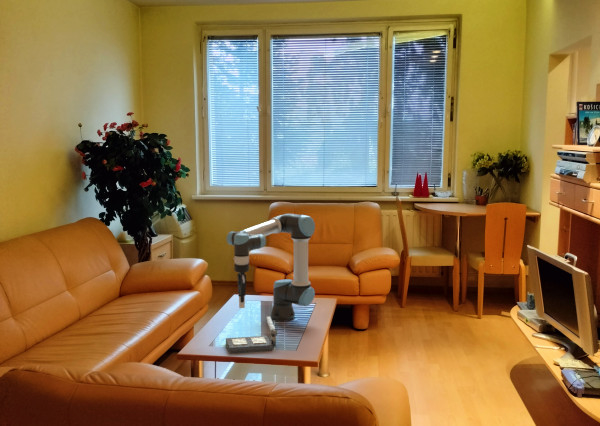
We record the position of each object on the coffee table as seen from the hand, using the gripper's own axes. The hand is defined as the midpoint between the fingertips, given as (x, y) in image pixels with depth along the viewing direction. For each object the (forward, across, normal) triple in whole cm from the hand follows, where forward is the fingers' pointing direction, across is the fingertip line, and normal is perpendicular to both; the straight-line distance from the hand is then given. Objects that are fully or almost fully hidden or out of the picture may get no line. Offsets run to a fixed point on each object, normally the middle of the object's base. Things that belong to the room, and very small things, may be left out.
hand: (241, 307), depth 280 cm
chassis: (+19, +7, +4) cm, 21 cm away
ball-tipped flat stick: (+14, -5, +17) cm, 22 cm away
